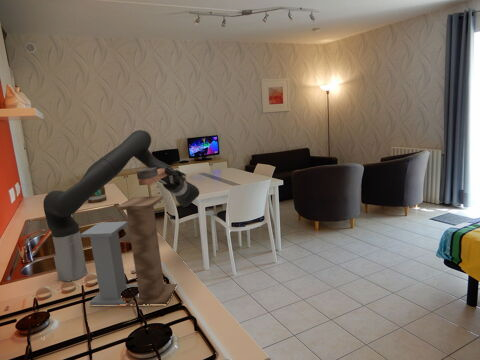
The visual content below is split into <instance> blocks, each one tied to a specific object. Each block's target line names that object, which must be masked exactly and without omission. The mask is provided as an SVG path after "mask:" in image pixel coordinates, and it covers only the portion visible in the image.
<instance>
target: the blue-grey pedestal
mask: <svg viewBox="0 0 480 360" xmlns="http://www.w3.org/2000/svg"><path fill="white" fill-rule="evenodd" d="M127 226H129V225H128V220H127V221H107V222H106V221H105V222H102V221H101V222H98V223H96V224H95V225H93V226H92V227H90V228H88V229H86V230H85V231H83V232H81V233H80V236H81V238H89V239H90V245H91V251H92V256H93V261H94V268H95V274H96V278H97V286H98V290H99V292H98V293H97V294H96V295H95V296H94V297H93V298H92V299H91V300H90V301H89V306H90V305H120V304H126V301H123V300H122V297H121V293H122V291H124V290H125V289H127V288H130V287H138V284H127V280H126V274H125V266H124V262H123V260H124V259H123V254H122V248H121V242H120V236H119V232H120V231H121V230H122V229H124V228H125V227H127Z"/></svg>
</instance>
